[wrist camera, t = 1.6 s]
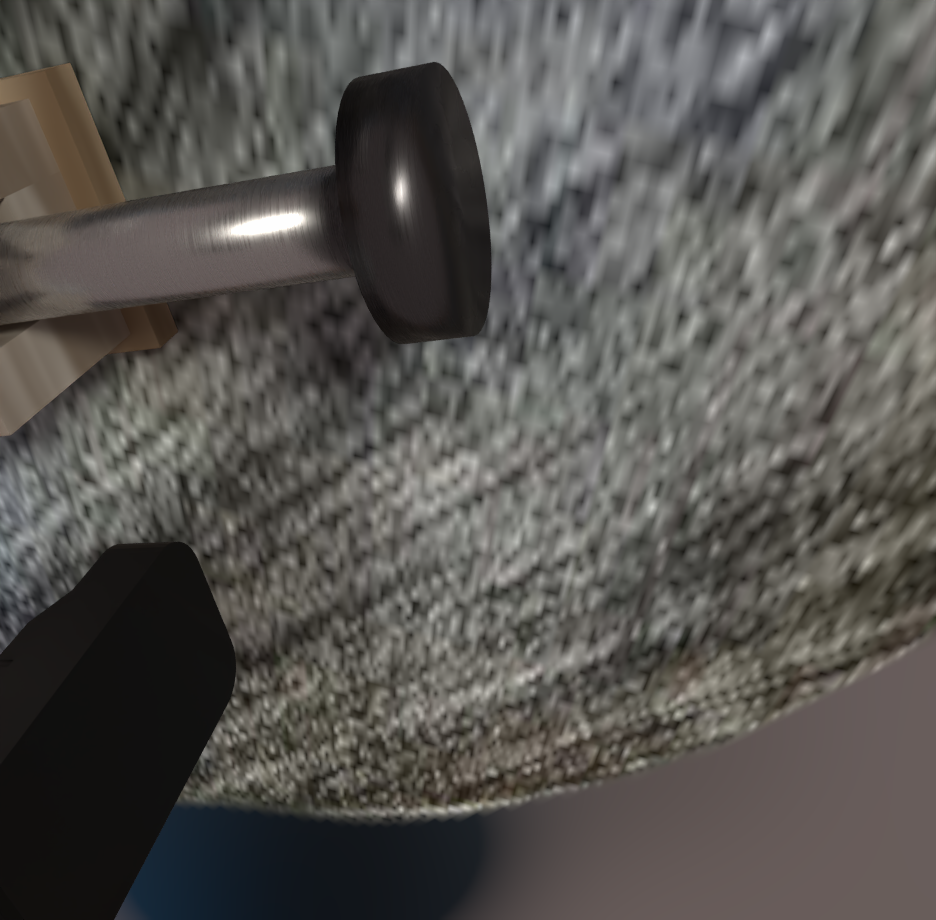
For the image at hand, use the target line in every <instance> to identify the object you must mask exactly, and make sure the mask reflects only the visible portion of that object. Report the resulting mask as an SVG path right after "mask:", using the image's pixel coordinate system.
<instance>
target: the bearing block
mask: <svg viewBox="0 0 936 920" xmlns="http://www.w3.org/2000/svg"><path fill="white" fill-rule="evenodd" d="M125 201H126V200H125V198H124V195H123V193H122V190H121V188H120V185H119V183H118V180H117V178H116V175H115V173H114V171H113V168H112V166H111V163H110V161H109V158H108V156H107V153H106V151H105V148H104V146H103V143H102V141H101V138H100V136H99V133H98V131H97V128H96V126H95V123H94V121H93V118H92V116H91V113H90V111H89V108H88V106H87V103H86V101H85V98H84V96H83V93H82V91H81V88H80V86H79V84H78V81H77V79H76V76H75V74H74V71H73V69H72V66H71V64H70V63H67V64H62V65H58V66H54V67H49V68H45V69H40V70H36V71H31V72H27V73H23V74H18V75H14V76H9V77H5V78H0V223H3V222H9V221H15V220H21V219H26V218H32V217H38V216H44V215H50V214H55V213H61V212H67V211H73V210H78V209H84V208H90V207H96V206H101V205H107V204H113V203H119V202H125ZM177 332H178V330H177V327H176V325H175V322H174V320H173V317H172V315H171V312H170V310H169V307H168V305H167V302H165V303H157V304H150V305H143V306H135V307H128V308H121V309H113V310H106V311H99V312H91V313H84V314H77V315H69V316H62V317H55V318H47V319H40V320H33V321H25V322H18V323H11V324H3V325H0V436H8V435H12V434H13V433H14V432H15V431H16V430H18V429H19V428H20V427H21V426H22V425H24V424H25V423H26V422H27V421H28V420H29V419H31V418H32V417H33V416H34V415H35V414H37V413H38V412H39V411H40V410H41V409H43V408H44V407H45V406H46V405H47V404H48V403H50V402H51V401H52V400H53V399H54V398H56V397H57V396H58V395H59V394H60V393H61V392H63V391H64V390H65V389H66V388H67V387H69V386H70V385H71V384H72V383H73V382H74V381H76V380H77V379H78V378H79V377H80V376H82V375H83V374H84V373H85V372H86V371H88V370H89V369H90V368H91V367H92V366H93V365H95V364H96V363H97V362H98V361H99V360H101V359H102V358H103V357H104V356H105V355H106V354H113V353H122V352H130V351H138V350H146V349H155V348H161V347H162V346H163V345H164V344H165V343H166V342H167V341H168V340H169V339H171V338H172V337H173V336H174V335H175V334H176V333H177Z"/></svg>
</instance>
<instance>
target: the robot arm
mask: <svg viewBox="0 0 936 920" xmlns="http://www.w3.org/2000/svg"><path fill="white" fill-rule="evenodd" d="M235 675H236V659H235V652H234V647H233V644H232V641H231V639H230V637H229V634H228V632H227V629H226V627H225V624H224V622H223V619H222V617H221V615H220V612H219V610H218V607H217V605H216V602H215V600H214V598H213V595H212V593H211V590H210V588H209V585H208V583H207V581H206V578H205V576H204V573H203V571H202V568H201V566H200V564H199V561H198V559H197V557H196V555H195V553H194V552H193V550H192V549H191V548H190V547H189V546H188V545H186V544H185V543H182V542H158V543H133V544H117V545H114V546H112V547H110V548H109V549H107V550H106V551H105V552H104V553H103V554H102V556H101V557H100V558H99V559H98V560H97V561H96V563H95V564H94V565H93V566H92V567H91V569H90V570H89V571H88V572H87V573H86V575H85V576H84V577H83V578H82V579H81V581H80V582H79V583H78V584H77V585H76V586H75V588H74V589H73V590H72V591H71V592H69V593H68V594H66V595H65V596H64V597H62V598H61V599H60V600H58V601H57V602H56V603H54V604H53V605H52V606H50V607H49V608H47V609H46V610H45V611H43V612H42V613H41V614H39V615H38V616H37V617H35V618H34V619H33V620H31V621H30V622H29V623H28V624H27V625H26V626H25V627H24V628H23V629H22V630H21V632H20V633H19V634H18V635H17V636H16V637H15V639H14V640H13V641H12V642H11V643H10V644H9V645H8V647H7V648H6V649H5V650H4V651H3V652H2V654H1V655H0V920H114V919H115V917H116V915H117V913H118V911H119V909H120V907H121V905H122V903H123V902H124V900H125V898H126V896H127V894H128V892H129V890H130V888H131V886H132V884H133V883H134V880H135V879H136V877H137V875H138V873H139V871H140V869H141V867H142V865H143V864H144V862H145V860H146V858H147V856H148V854H149V852H150V850H151V848H152V847H153V845H154V843H155V841H156V839H157V837H158V835H159V833H160V831H161V829H162V828H163V826H164V824H165V822H166V820H167V818H168V816H169V814H170V812H171V810H172V809H173V807H174V805H175V803H176V801H177V799H178V797H179V795H180V793H181V791H182V790H183V788H184V786H185V784H186V782H187V780H188V778H189V776H190V774H191V773H192V771H193V769H194V767H195V765H196V763H197V761H198V759H199V757H200V755H201V754H202V752H203V750H204V748H205V746H206V744H207V742H208V740H209V738H210V736H211V735H212V733H213V731H214V729H215V727H216V725H217V723H218V721H219V719H220V717H221V716H222V714H223V712H224V710H225V708H226V706H227V704H228V702H229V700H230V697H231V694H232V691H233V687H234V683H235Z"/></svg>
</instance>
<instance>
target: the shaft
mask: <svg viewBox="0 0 936 920" xmlns="http://www.w3.org/2000/svg"><path fill="white" fill-rule="evenodd" d="M348 277H356V279H357V282H358V285H359V287H360V290H361V293H362V295H363V298H364V300H365V302H366V304H367V307H368V309H369V311H370V312H371V314H372V316H373V318H374V320H375V321H376V323H377V324H378V326H379V327H380V329H381V330H382V331H383V332H384V333H385V335H386V336H387V337H389V338H390V339H391V340H392V341H394V342H396V343H399V344H409V343H418V342H427V341H436V340H445V339H453V338H462V337H471V336H475V335H478V334H479V332H480V331H481V330H482V328H483V326H484V324H485V321H486V317H487V313H488V308H489V301H490V292H491V240H490V227H489V217H488V208H487V200H486V193H485V187H484V181H483V175H482V169H481V165H480V160H479V155H478V150H477V146H476V142H475V138H474V134H473V131H472V127H471V123H470V120H469V117H468V114H467V111H466V108H465V105H464V102H463V100H462V97H461V95H460V93H459V90H458V88H457V86H456V84H455V82H454V80H453V78H452V77H451V75H450V74H449V72H448V71H447V70H446V69H445V67H444V66H442V65H441V64H440V63H437V62H431V63H426V64H421V65H416V66H411V67H406V68H401V69H396V70H391V71H386V72H381V73H376V74H371V75H366V76H361V77H358V78H355V79H353V80H352V81H351V82H350V83H349V85H348V86H347V88H346V89H345V91H344V94H343V97H342V99H341V103H340V107H339V111H338V117H337V125H336V138H335V165H332V166H327V167H321V168H315V169H309V170H304V171H298V172H292V173H286V174H280V175H275V176H269V177H263V178H257V179H252V180H246V181H240V182H234V183H228V184H223V185H217V186H211V187H205V188H200V189H194V190H188V191H182V192H177V193H171V194H165V195H159V196H153V197H148V198H142V199H136V200H130V201H125V202H119V203H113V204H107V205H101V206H96V207H90V208H84V209H78V210H73V211H67V212H61V213H55V214H50V215H44V216H38V217H32V218H26V219H21V220H15V221H9V222H3V223H0V325H3V324H11V323H18V322H25V321H33V320H40V319H47V318H55V317H62V316H69V315H77V314H84V313H91V312H99V311H106V310H113V309H121V308H128V307H135V306H143V305H150V304H157V303H165V302H172V301H179V300H187V299H194V298H202V297H209V296H216V295H224V294H231V293H238V292H246V291H253V290H260V289H268V288H275V287H282V286H290V285H297V284H304V283H312V282H319V281H326V280H334V279H341V278H348Z"/></svg>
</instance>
